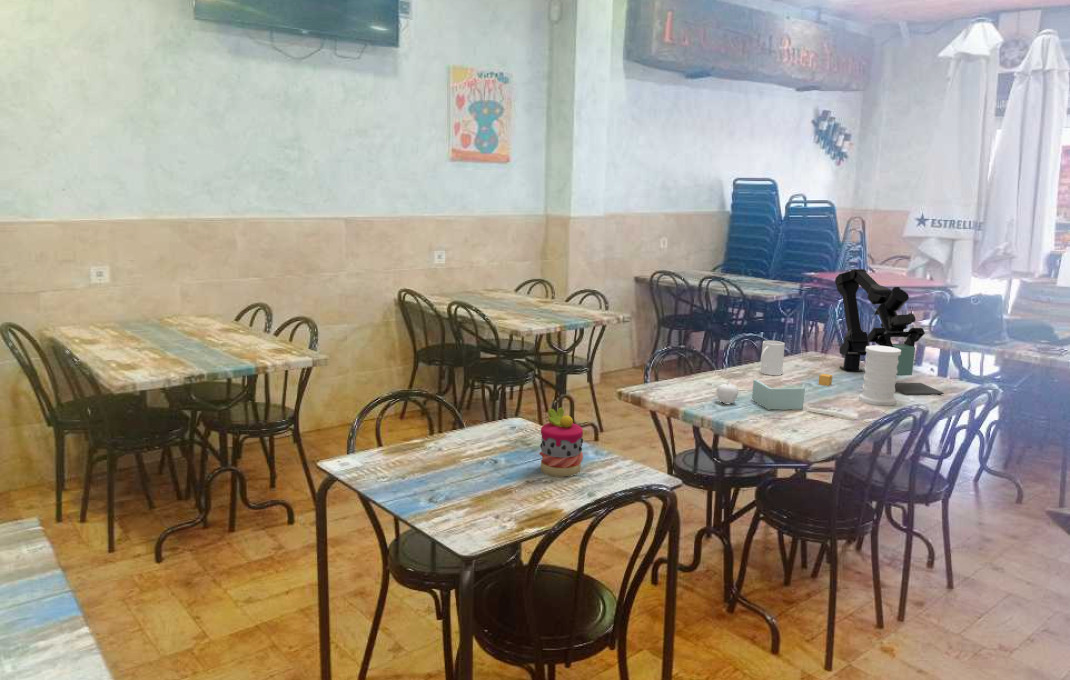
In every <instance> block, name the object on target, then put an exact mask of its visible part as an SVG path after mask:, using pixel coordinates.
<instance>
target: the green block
mask: <svg viewBox="0 0 1070 680" xmlns="http://www.w3.org/2000/svg"><path fill="white" fill-rule="evenodd" d="M892 345H893V347H894V348H898V349H900V350H901V355H899V356H898V361H899V363H898V365H897V371H898V372H897V374H896V376H912V375H913V369H914V363H915V362H914V361H915V353H916V352H915V351H916V347H915V346H914V347H913V346H910V345H907V344H904V343H892Z"/></svg>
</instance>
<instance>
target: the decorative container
mask: <svg viewBox="0 0 1070 680" xmlns="http://www.w3.org/2000/svg"><path fill="white" fill-rule="evenodd" d="M865 351H866V352H867V353H866V357H865V362H866V363H865V366H864V375H863V384H862V393H859V396H858V399H859V401H861V402H862V403H866V404H869V405H874V406H883V405H886V406H894V405H896V404H897V400H898V399H897V398H896V397H895V396H894V395H895V393H896V390H895V384H896V383H897V375H896V374H897V372H898V371H897V365H898V363H899V361H898V356H899V355H901V350H900V349H898V348H894V347H888V346H880V345H878V344H877V345H876V344H875V345H869V346H866V350H865Z"/></svg>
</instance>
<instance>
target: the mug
mask: <svg viewBox="0 0 1070 680" xmlns="http://www.w3.org/2000/svg"><path fill="white" fill-rule="evenodd" d="M785 345H786V343H785V342H783V341H778V340H763V341H762V347H761V354H760V355H761V356H760V367H759V368H760V369H759V373H760V372H761V373H760V374H762V373H764V374H763V375H765V374H769V375H768V376H772V375H778V376H782V375H783V374H784V373H783V368H784V355H785ZM781 374H782V375H781Z"/></svg>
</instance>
